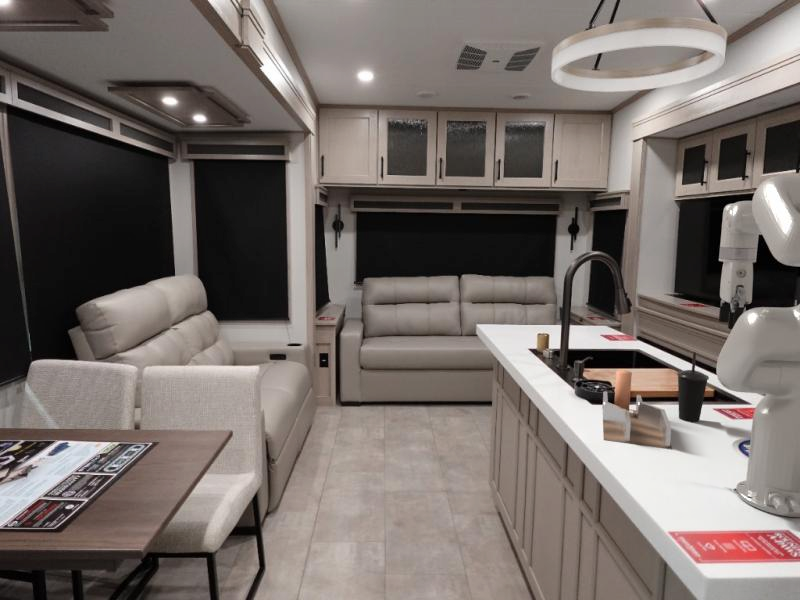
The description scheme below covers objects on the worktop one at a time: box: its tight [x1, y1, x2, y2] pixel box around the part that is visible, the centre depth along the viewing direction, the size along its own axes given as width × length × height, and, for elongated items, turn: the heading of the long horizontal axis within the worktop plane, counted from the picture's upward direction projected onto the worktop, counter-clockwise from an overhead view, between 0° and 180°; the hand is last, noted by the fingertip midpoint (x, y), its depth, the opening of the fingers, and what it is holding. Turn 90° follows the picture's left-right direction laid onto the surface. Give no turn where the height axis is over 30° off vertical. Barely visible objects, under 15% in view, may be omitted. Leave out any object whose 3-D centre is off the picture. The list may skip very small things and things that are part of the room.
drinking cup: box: [676, 352, 710, 423], centre depth 143 cm, size 8×8×20 cm
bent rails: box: [602, 390, 672, 448], centre depth 139 cm, size 24×15×5 cm, turn 159°
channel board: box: [601, 405, 673, 450], centre depth 139 cm, size 26×16×1 cm, turn 159°
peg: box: [613, 369, 633, 410], centre depth 148 cm, size 4×4×12 cm
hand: (730, 325), depth 126 cm, fingers open, 9 cm apart
